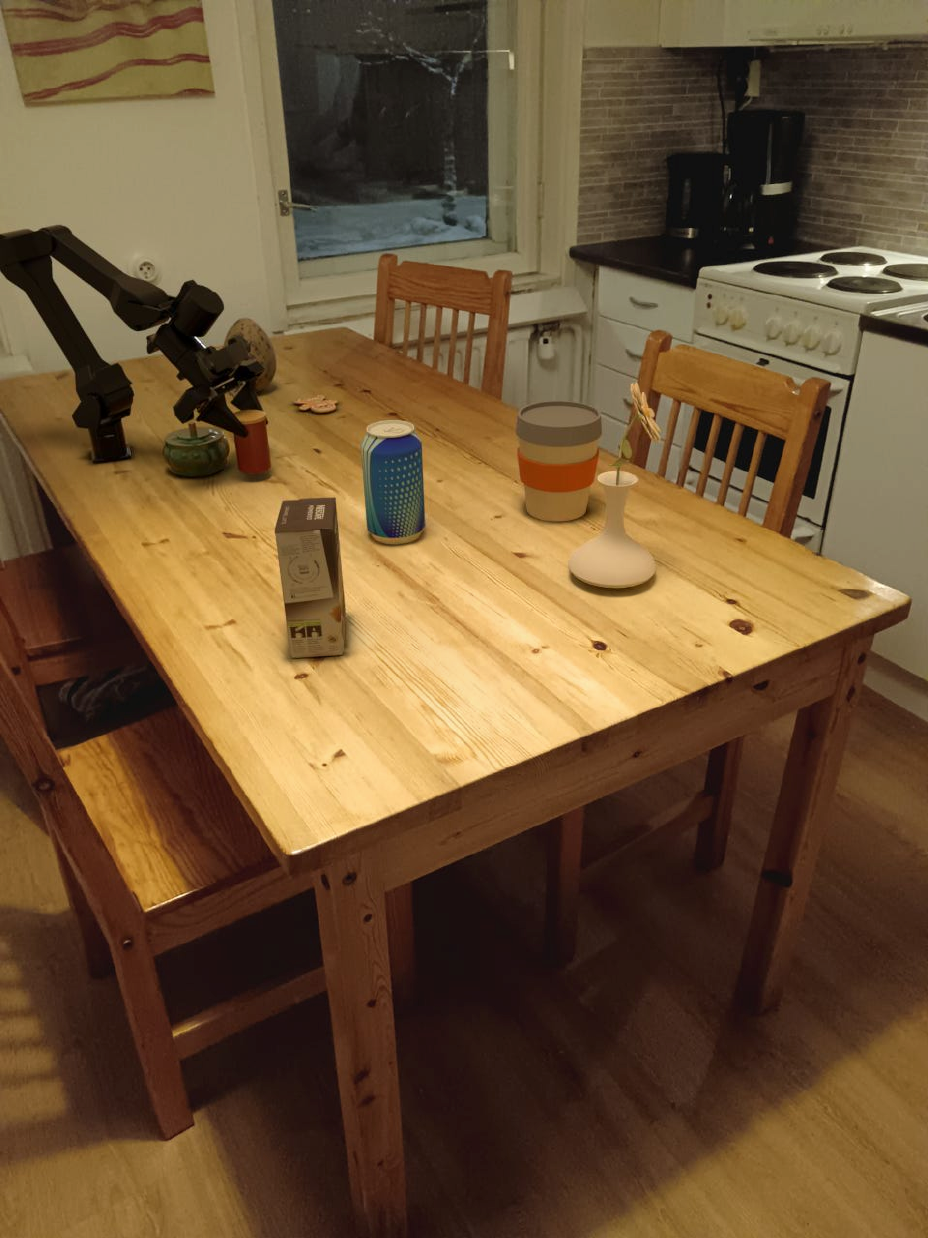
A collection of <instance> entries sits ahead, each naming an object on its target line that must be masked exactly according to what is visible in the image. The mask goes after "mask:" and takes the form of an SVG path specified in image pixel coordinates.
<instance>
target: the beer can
mask: <svg viewBox="0 0 928 1238" xmlns="http://www.w3.org/2000/svg"><path fill="white" fill-rule="evenodd" d="M365 431H366V433H365V435H364V437H363V439H362V441H361V443H360V455H361V469H362V481H363V493H364V506H365V520H366V529H367V532H369V534H371V536H372V537H373V539H374V540H375V541H377V542H379V543H381V544H386V545H403V544H407V543H412V542H414V541H415V540H417V539H418V538H419V537H420V536H421V533H422V532H423V531H424V529H425V528H426V510H425V506H426V505H425V488H424V487H425V486H424V462H423V461H424V460H423V442H422V440H421V438H420V436H419V435H418V433H417V432H416V431H415V425H414V424H413V423H411V422H409V421H405V420H400V419H399V420H398V419H387V420H380V421H376V422H373V423H370V424H369V425H367V427H366V428H365Z"/></svg>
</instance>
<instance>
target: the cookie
mask: <svg viewBox="0 0 928 1238" xmlns="http://www.w3.org/2000/svg"><path fill="white" fill-rule="evenodd" d="M325 398H326V397H325V395H315V396H312V397H311V398H298V399H296V400H293V404H294V405H300V406H299V407H298V410H299V411H302V412H304V411H308V410H310V412H312V413H314V414H327V413H331V412H334V411H336V409H337V406H336V405H337V404H338V400H336V399H325Z"/></svg>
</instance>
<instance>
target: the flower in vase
mask: <svg viewBox="0 0 928 1238" xmlns="http://www.w3.org/2000/svg"><path fill="white" fill-rule="evenodd" d="M630 394H631V397H632V398H631V399H632V401H633V404H634V407H635V410H636V412H635V415H634V416H633V418H632V420H631V422H630V423H629V424H628V426H627V428H626V430H625V432H624V434H623V436H622V438H621V441H620V446H619V451H618V458H617V460H615V462H613V463H610V464H608V466H609V467H616V470H609V471H605V472H602V473H600V474H598V475H597V478H596V479H597V481H598V483H599V484H600V485H601V487H602V488H603V492H604V496H605V497H604V498H605V506H606V516H605V524H604V527H603V530H602V531H601V532H600V533H598V534H597V535H596V536H595V537H593V538H591V539H589V540H587V541H585V542H584V543H582V544H581V545H579V546H578V547H577V548H576V549H575V550H574V551H573V552H572V553H571V555H570V557H569V559H568V562H567V564H568V568H569V570H570V572H571V573H572V575H573V576H574V577H575V578H576V579H578V580H580V581H581V582H582V583H585V584H588V585H591V586H595V587H599V588H605V589H606V588H607V589H625V588H632V587H637V586H639V585H641V584H644V583H646V582H648V581H649V580H650V579H651V578H652V577H653V575H654V574H655V573H656V571H657V564H656V562H655V558H654V557H653V555H652V554H651V553H650V552H649V550H647V548H645V547H644V546H643V545H641V544H640V543H639V542H637V541H636V540H635V539H633V538H632V537H630V536H629V535H628V533H627V531H626V529H625V511H626V505H627V501H628V497H629V494H630V492H631V490H632V489H633V488H634V487H635V485H636V484H637V483H638V481H639V478H638V476H637V475H635V474H634V473H631V472H628V471H622V470H621V466H622V465H625V464H627V463H629V462H630V459H631V458H632V456H633V449H632V447H631V444H630V441H629V440H627V439H626V438H627V436H628V434H629V432H630V431H631V429H632V427H633V425H634V423H635V422H636V421H637V420H638V421H640V422H641V424H642V426H643V428H644V430H645V431H646V433H647V435H648V437H649V438H650V440H651V441H652V442H654V443H658V441H659V442H660V441H662V438H661V436H660V434H659V433H661V432H662V431H661V428H660V426H659V425H658V424H657V423H656V421H655V420H654V418H655V415H656V414H655V412H654V410H653V408H651V407H649V403H648V402H647V401H648V400H647V395H646V393H645V392H644V391H642V392H641V390H640V386H639V383H638V382H637V381H636V382H635V383H633V382H632V383H631V384H630ZM622 454H623V456H624V457H625V458H626V459H627V460H626V459H624V458H622Z"/></svg>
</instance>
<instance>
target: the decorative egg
mask: <svg viewBox="0 0 928 1238" xmlns="http://www.w3.org/2000/svg"><path fill="white" fill-rule="evenodd" d="M239 334H240V335H241V336H242V337H243V338H244V339H245V340H246V341H247V342H248V343H249V344H250V345H251V352H250V353H249V355H250V357H251V359H249V360H257V361H258V362H259V363H260V364H261V365H262V366H263V367H264V369H265V371H264V372H263V373H262V375H261V376H260V377H259V378H258V381H257V382H256V389H255V390H256V393H258V392H261V391H263V390H265V389H266V388H267V387H269V385H271V383H272V381H273V380H274V378H275V376H276V373H277V372H276V371H277V356H276V352H275V349H274V345H273V343H272V341H271V339H270V337H269V336H268V333H266V331H265V330H264V329H263V328H262V326H261V325H260V324H259V323H258V322H256V321H255V320H254V319H252V318H248V317H241V318H239V319H237V320H236V321H235V322H234V323H232V325H231V326H230V328H229V329H228V331H227V333H226V336H225V337H224V338H225V339H224V341H223V346H222V348H224V347H226V346H228V340H229V339H231V338H233V337H235V336H237V335H239ZM249 360H247V361H249ZM247 361H246V360H244V361H242V362H241V363H240V364H238V365H236V366H234V367H235V368H236V369H237V368H238V366H239V365H241V364H243V363H245V362H247ZM236 369H235V370H236ZM235 370H234V371H235ZM234 371H233V372H232V373H231V374H230V375H229V376H231V375H232V374H233V373H234Z"/></svg>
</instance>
